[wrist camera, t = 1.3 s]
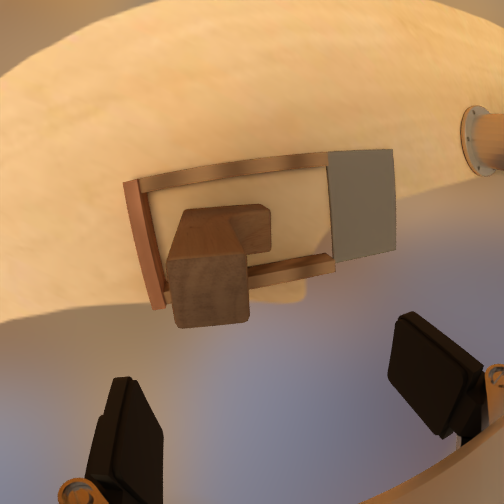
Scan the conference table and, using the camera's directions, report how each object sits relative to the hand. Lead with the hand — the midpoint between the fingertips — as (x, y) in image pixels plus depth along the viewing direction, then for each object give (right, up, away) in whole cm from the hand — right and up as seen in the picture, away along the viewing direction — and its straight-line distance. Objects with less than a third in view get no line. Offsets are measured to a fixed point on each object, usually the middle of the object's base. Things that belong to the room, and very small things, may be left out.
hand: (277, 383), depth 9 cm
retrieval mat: (+14, +11, +26) cm, 32 cm away
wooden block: (-4, +8, +24) cm, 26 cm away
